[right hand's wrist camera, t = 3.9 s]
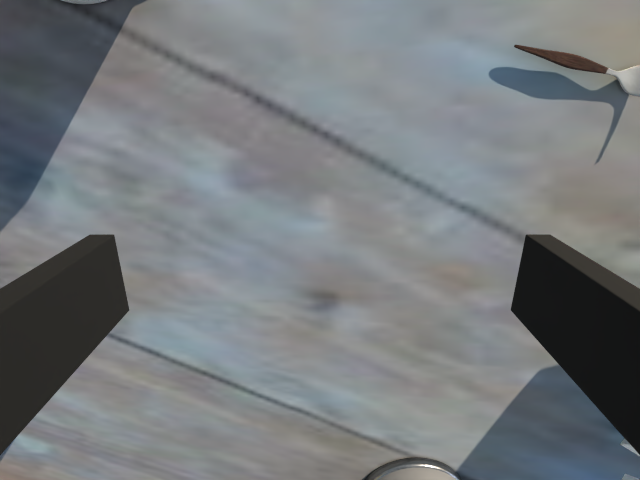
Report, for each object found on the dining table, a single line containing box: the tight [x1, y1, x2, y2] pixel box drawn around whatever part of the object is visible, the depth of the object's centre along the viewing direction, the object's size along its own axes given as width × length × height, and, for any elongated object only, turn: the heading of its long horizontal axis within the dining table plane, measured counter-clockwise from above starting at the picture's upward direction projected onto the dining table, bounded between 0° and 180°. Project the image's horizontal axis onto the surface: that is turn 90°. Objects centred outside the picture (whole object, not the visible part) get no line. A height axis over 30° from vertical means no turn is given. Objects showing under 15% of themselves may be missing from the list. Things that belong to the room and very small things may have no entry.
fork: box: [514, 45, 640, 96], centre depth 35 cm, size 3×16×2 cm, turn 77°
